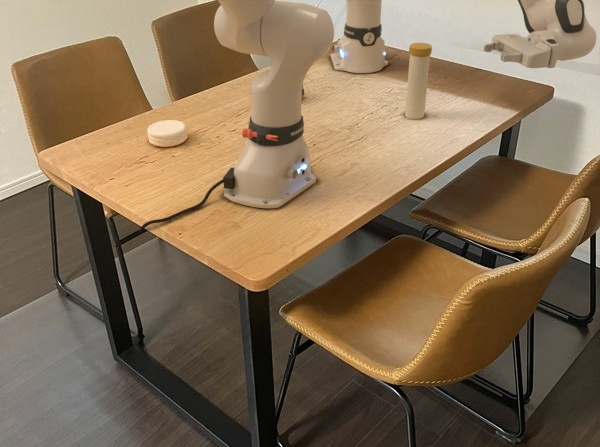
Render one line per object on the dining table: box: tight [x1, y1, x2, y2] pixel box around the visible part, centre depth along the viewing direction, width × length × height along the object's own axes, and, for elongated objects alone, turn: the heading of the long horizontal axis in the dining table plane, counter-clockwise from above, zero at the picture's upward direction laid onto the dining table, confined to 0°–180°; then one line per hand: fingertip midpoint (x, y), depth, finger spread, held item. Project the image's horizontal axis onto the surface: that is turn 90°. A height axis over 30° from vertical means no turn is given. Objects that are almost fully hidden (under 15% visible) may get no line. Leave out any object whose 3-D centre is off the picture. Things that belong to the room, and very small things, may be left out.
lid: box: [408, 42, 433, 56], centre depth 163 cm, size 6×6×2 cm
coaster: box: [146, 119, 188, 148], centre depth 160 cm, size 10×10×4 cm
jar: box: [404, 53, 431, 120], centre depth 168 cm, size 5×5×19 cm
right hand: (493, 53), depth 169 cm, fingers open, 8 cm apart
